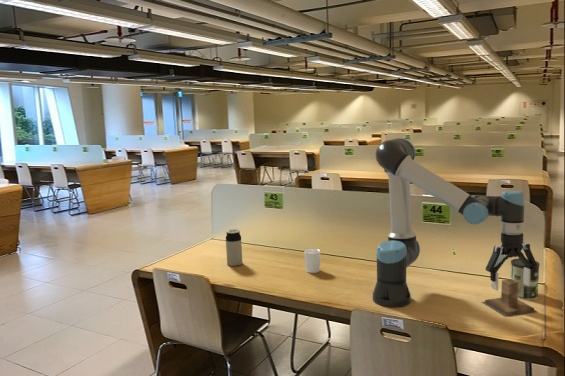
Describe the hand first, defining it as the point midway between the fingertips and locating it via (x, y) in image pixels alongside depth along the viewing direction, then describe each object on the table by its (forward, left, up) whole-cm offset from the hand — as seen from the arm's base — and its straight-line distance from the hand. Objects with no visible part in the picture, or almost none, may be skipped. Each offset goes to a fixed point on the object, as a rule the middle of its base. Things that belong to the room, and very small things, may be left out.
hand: (510, 287), depth 176 cm
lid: (0, 0, -8) cm, 8 cm away
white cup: (-60, +64, -9) cm, 89 cm away
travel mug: (-96, +87, -9) cm, 130 cm away
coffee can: (+13, +9, -9) cm, 18 cm away
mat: (0, 0, -9) cm, 9 cm away
